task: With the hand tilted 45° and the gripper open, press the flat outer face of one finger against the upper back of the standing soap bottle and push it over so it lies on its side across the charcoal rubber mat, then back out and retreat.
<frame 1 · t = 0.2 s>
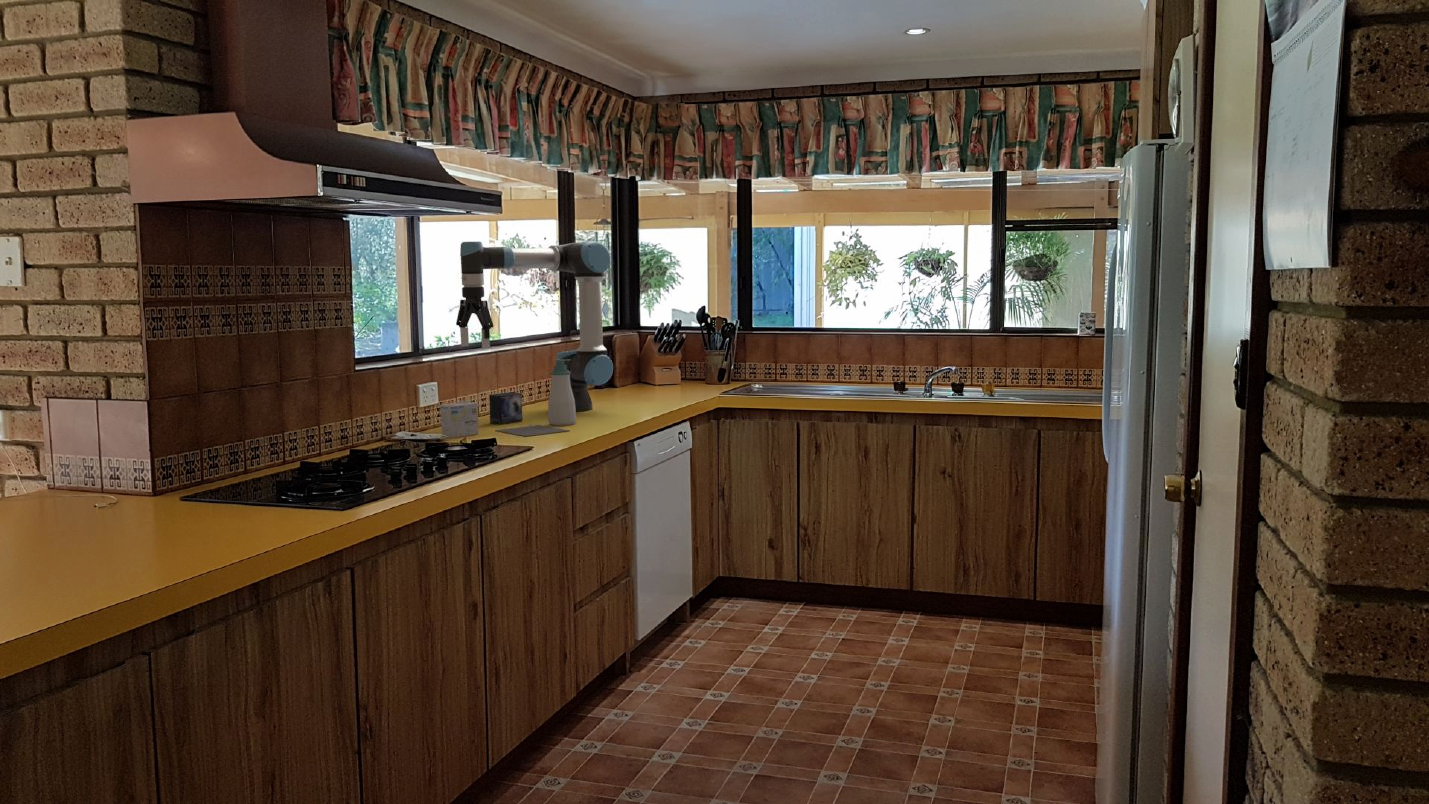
hand: (475, 347, 376), 28 cm above the countertop, tool pointing down, fingers open, 13 cm apart
light bulb box: (460, 436, 357), on the countertop
small box: (506, 423, 387), on the countertop
charcoal mat: (532, 431, 363), on the countertop
soap bottle: (562, 424, 379), on the countertop
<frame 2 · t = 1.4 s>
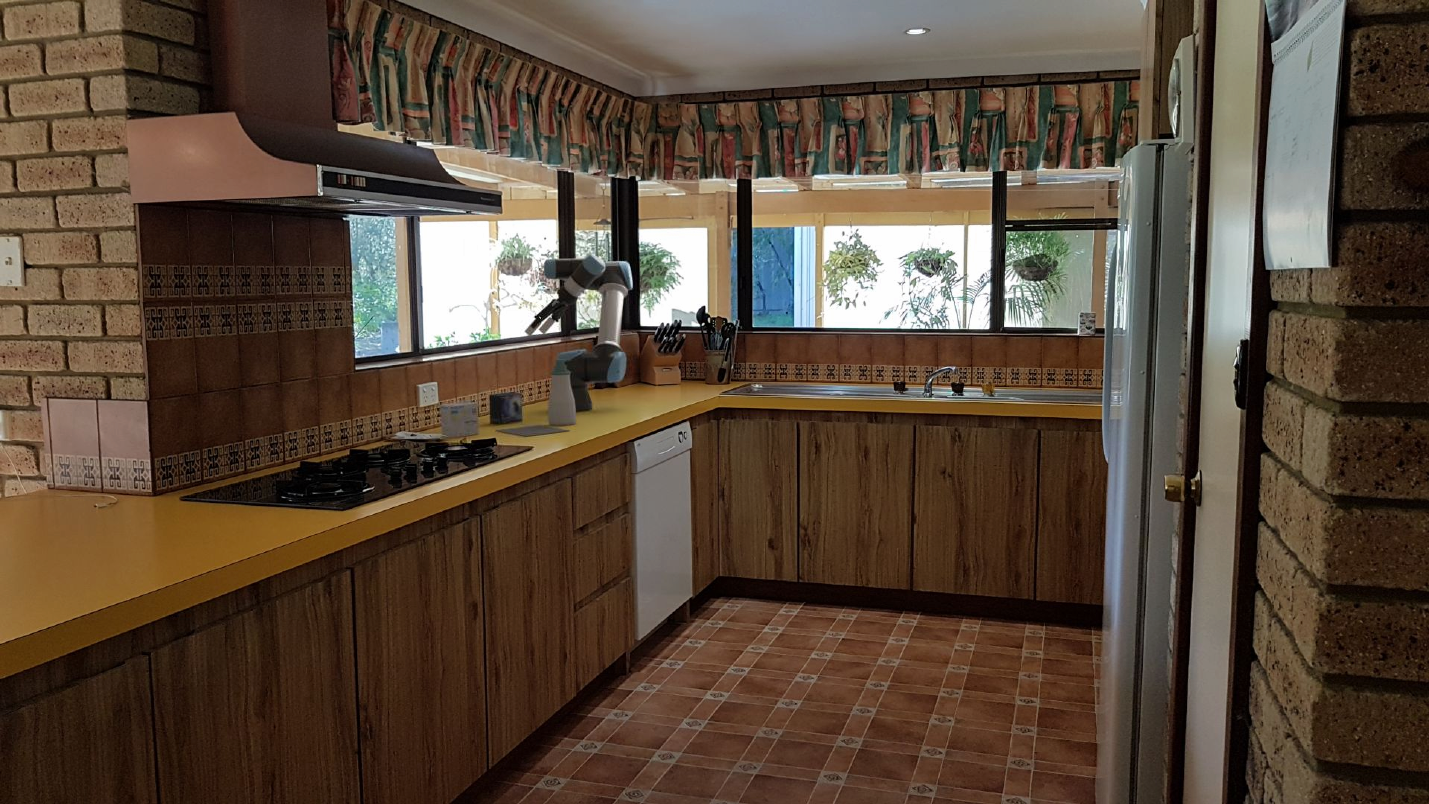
hand: (534, 332, 395), 31 cm above the countertop, tool tilted 45°, fingers open, 13 cm apart
nothing on the countertop moved.
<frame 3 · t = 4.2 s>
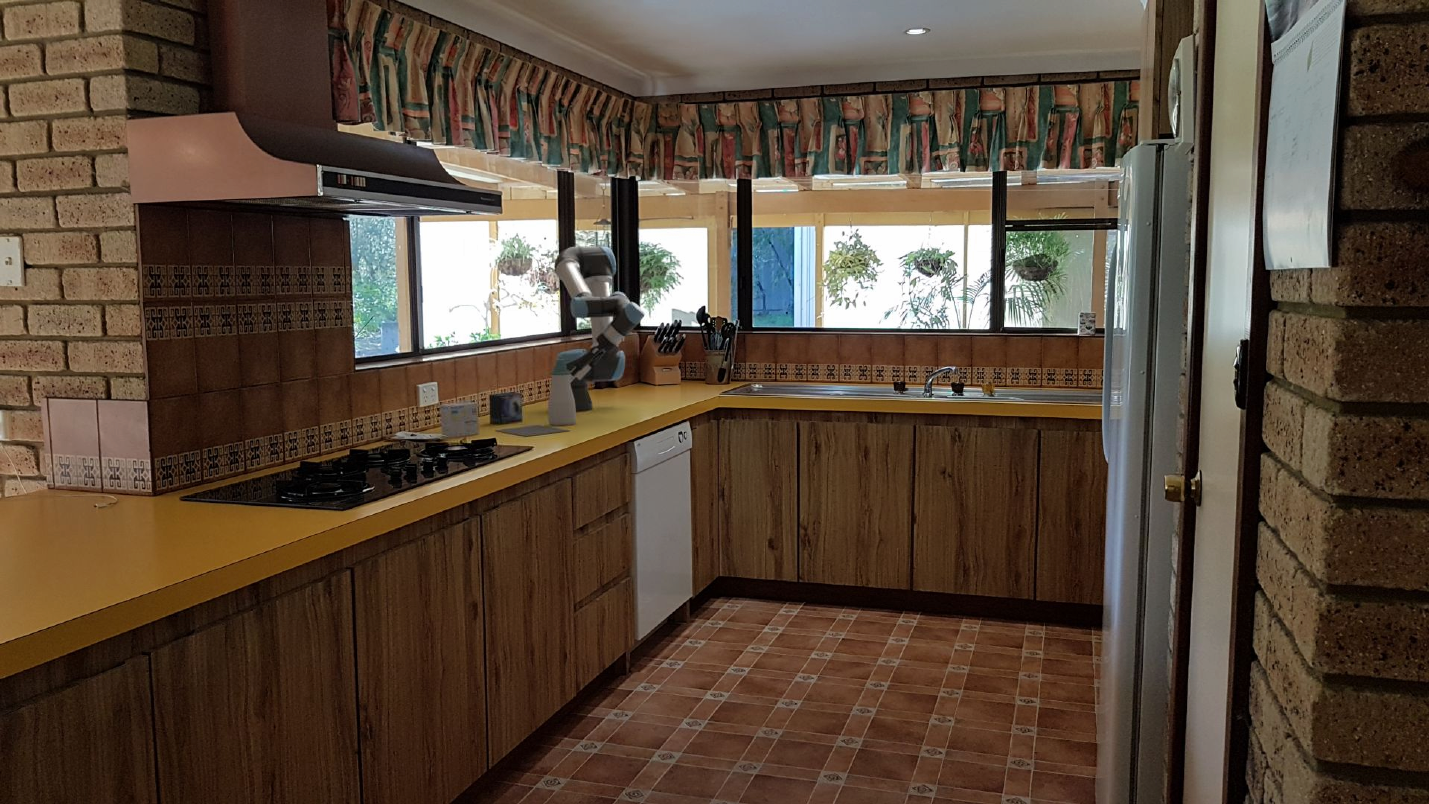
hand: (571, 379, 396), 14 cm above the countertop, tool tilted 45°, fingers open, 13 cm apart
nothing on the countertop moved.
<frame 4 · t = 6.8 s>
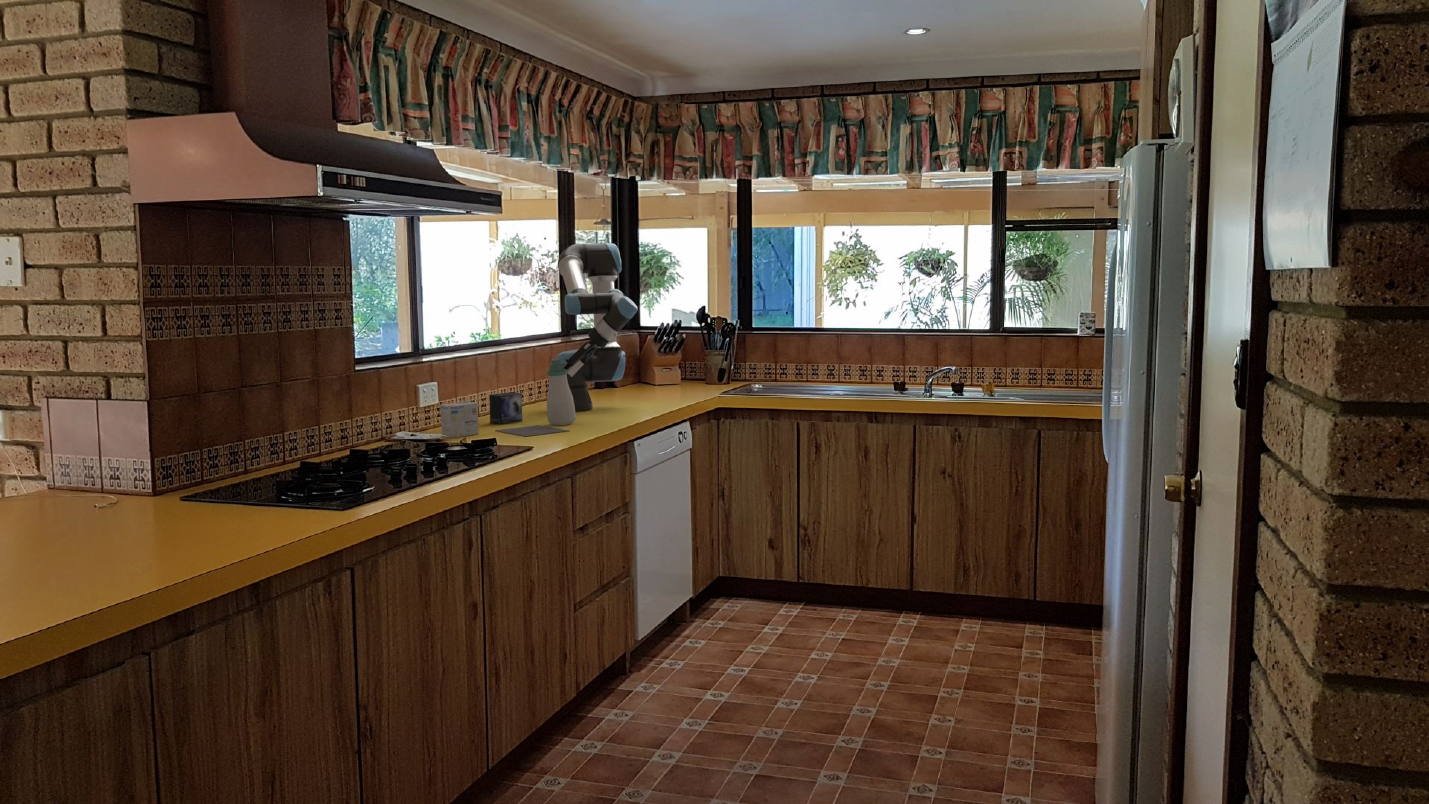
hand: (563, 375, 386), 16 cm above the countertop, tool tilted 45°, fingers open, 13 cm apart
soap bottle: (562, 422, 379), point 1 cm above the countertop, touching gripper
everything else where it was.
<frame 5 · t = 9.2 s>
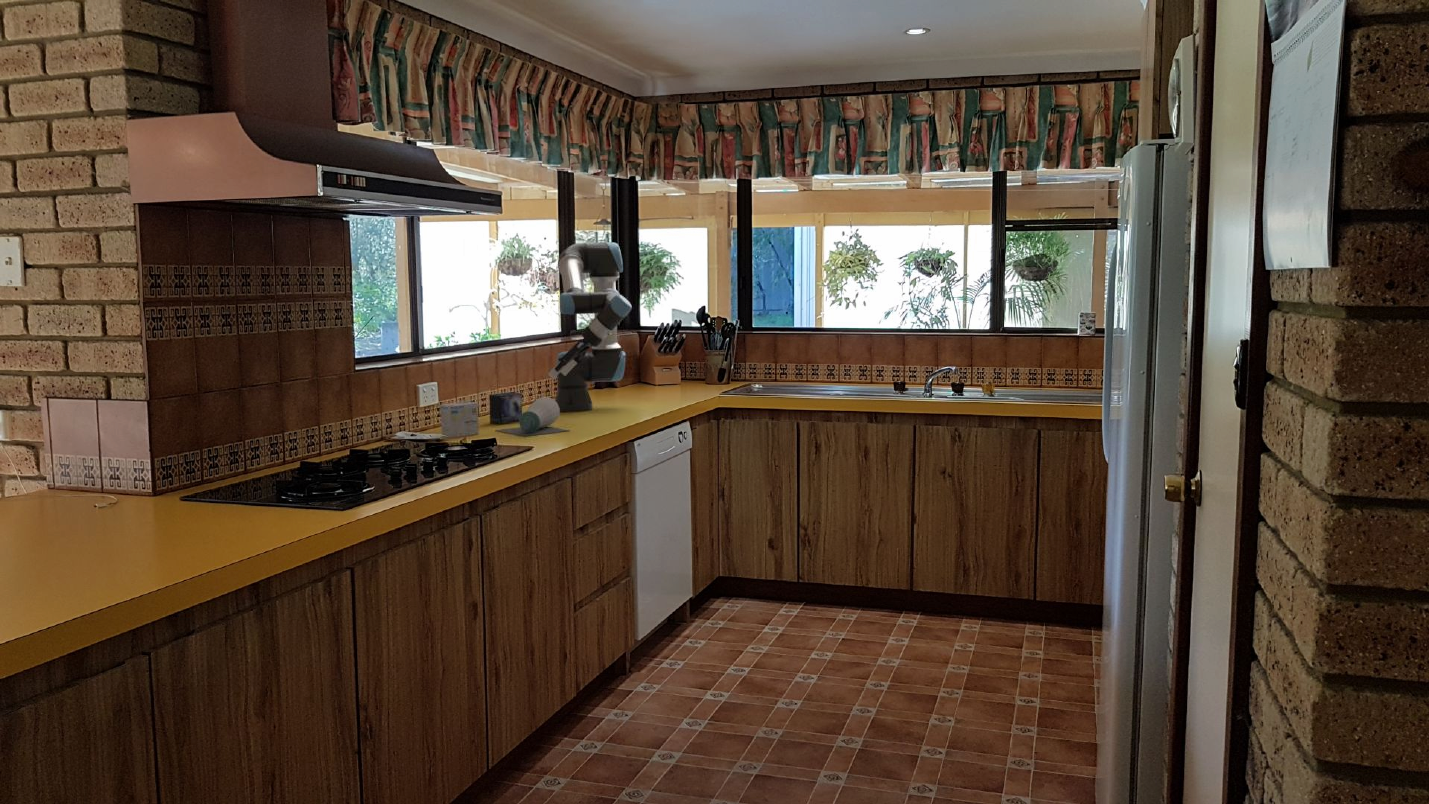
hand: (556, 375, 380), 17 cm above the countertop, tool tilted 45°, fingers open, 13 cm apart
soap bottle: (547, 409, 374), point 6 cm above the countertop, touching charcoal mat
everything else where it was.
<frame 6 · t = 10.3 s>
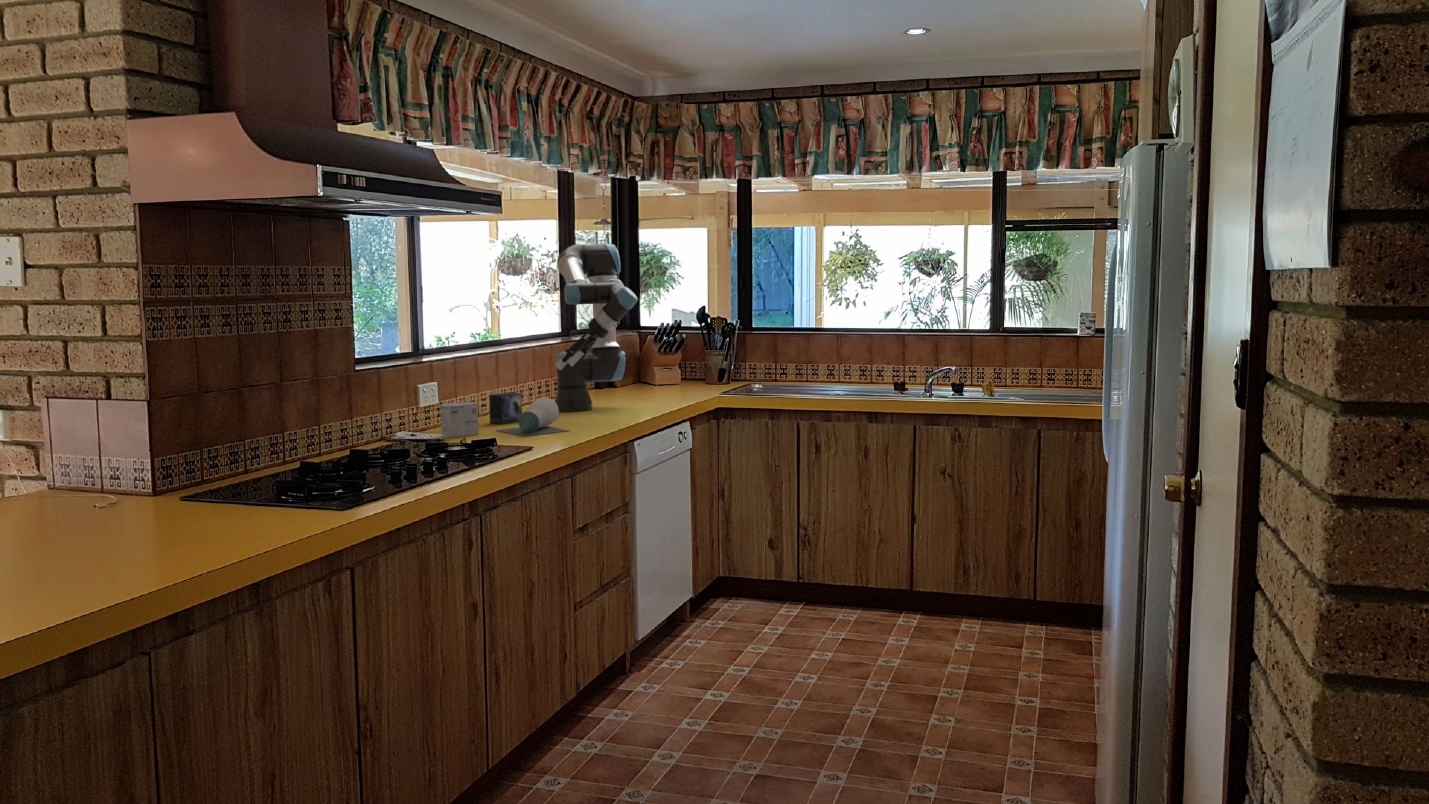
hand: (563, 365, 387), 20 cm above the countertop, tool tilted 45°, fingers open, 13 cm apart
nothing on the countertop moved.
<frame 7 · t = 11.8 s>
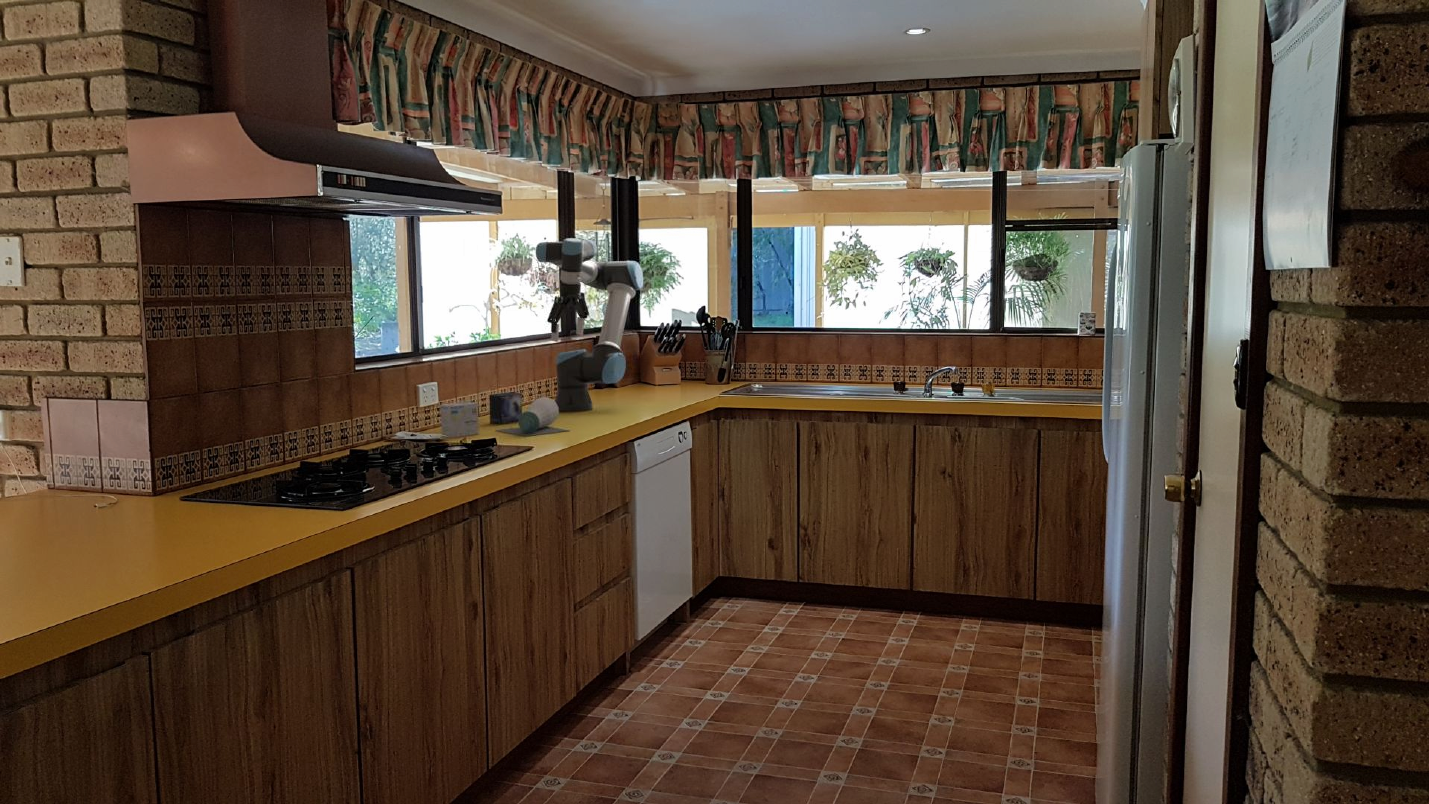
hand: (567, 337, 397), 29 cm above the countertop, tool pointing down, fingers open, 13 cm apart
nothing on the countertop moved.
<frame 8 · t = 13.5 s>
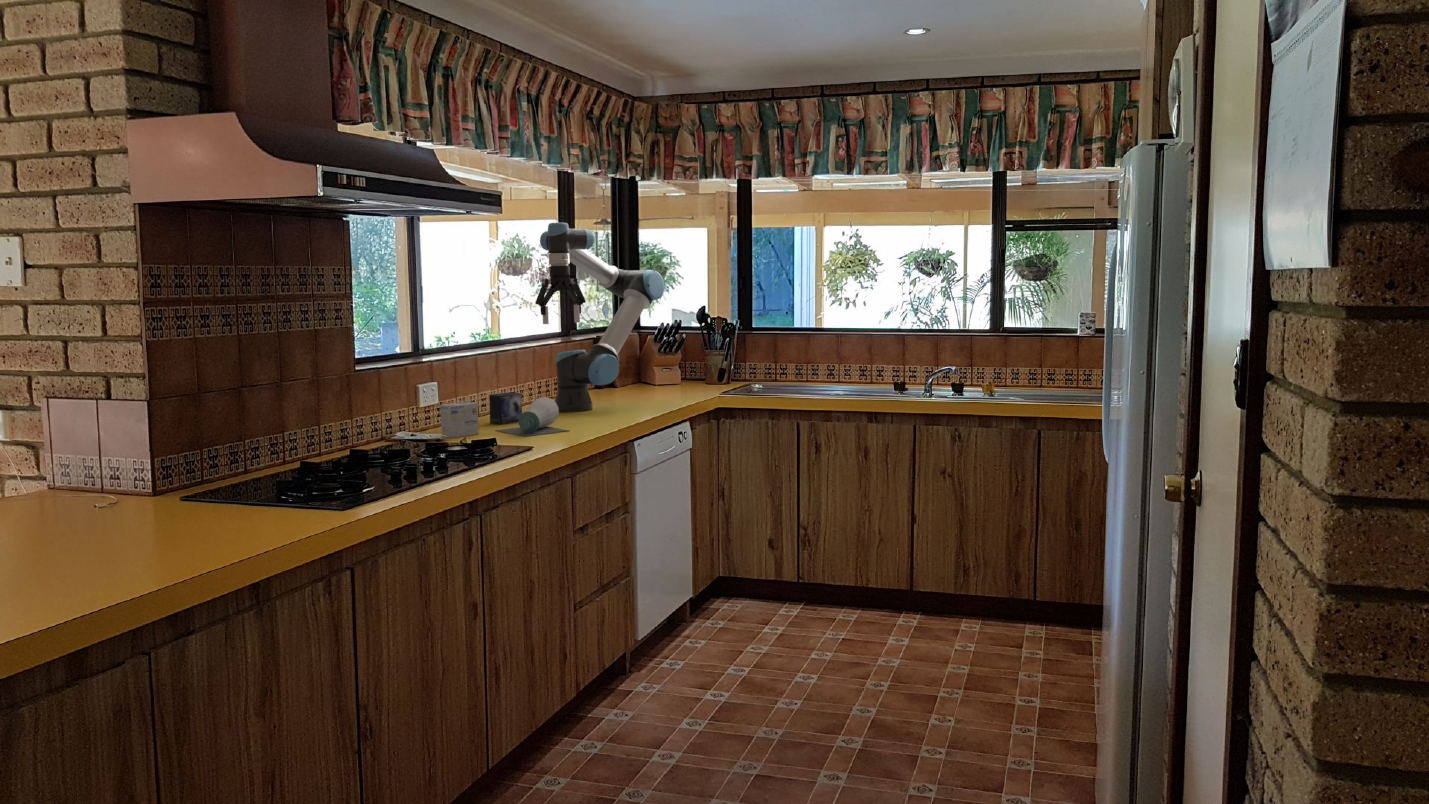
hand: (561, 323, 396), 35 cm above the countertop, tool pointing down, fingers open, 13 cm apart
nothing on the countertop moved.
at the end: soap bottle tilted 95°; soap bottle touching charcoal mat; the gripper is holding nothing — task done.
